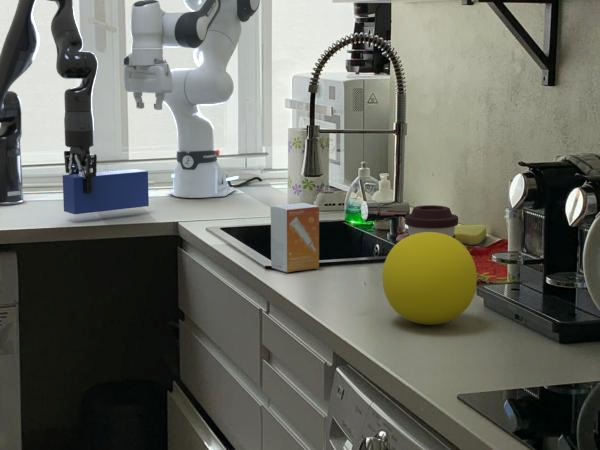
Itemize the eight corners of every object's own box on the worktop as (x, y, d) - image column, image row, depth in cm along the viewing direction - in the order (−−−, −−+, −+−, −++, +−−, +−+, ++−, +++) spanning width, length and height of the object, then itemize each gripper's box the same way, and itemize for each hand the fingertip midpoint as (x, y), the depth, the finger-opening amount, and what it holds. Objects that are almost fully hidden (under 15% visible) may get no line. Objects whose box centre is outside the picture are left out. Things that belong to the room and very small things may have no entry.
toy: (446, 307, 181) (447, 222, 179) (492, 329, 167) (494, 237, 165) (367, 316, 176) (367, 228, 174) (408, 339, 162) (408, 244, 160)
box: (74, 214, 273) (73, 177, 272) (63, 211, 278) (62, 175, 276) (148, 206, 287) (148, 171, 286) (137, 203, 292) (136, 168, 291)
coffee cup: (400, 280, 202) (400, 204, 200) (450, 279, 203) (451, 203, 201) (409, 292, 193) (410, 212, 190) (462, 291, 193) (463, 211, 191)
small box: (287, 273, 210) (286, 209, 208) (270, 268, 216) (269, 205, 213) (320, 268, 215) (319, 205, 213) (303, 263, 220) (302, 202, 218)
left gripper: (105, 129, 271) (107, 193, 274) (79, 125, 282) (81, 187, 285) (79, 131, 266) (81, 196, 269) (53, 127, 277) (55, 189, 280)
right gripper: (177, 59, 285) (179, 110, 288) (138, 59, 301) (140, 107, 303) (157, 59, 281) (159, 111, 284) (119, 59, 297) (121, 108, 299)
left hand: (81, 191), depth 277 cm, fingers closed on box, 6 cm apart
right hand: (149, 109), depth 293 cm, fingers open, 8 cm apart
